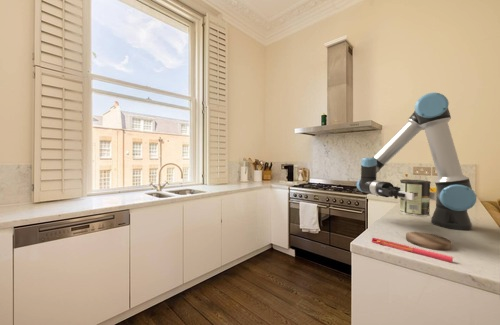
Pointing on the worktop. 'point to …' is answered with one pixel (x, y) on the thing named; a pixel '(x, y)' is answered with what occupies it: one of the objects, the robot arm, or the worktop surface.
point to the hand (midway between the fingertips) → (424, 196)
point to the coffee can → (415, 198)
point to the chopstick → (413, 249)
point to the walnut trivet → (429, 240)
